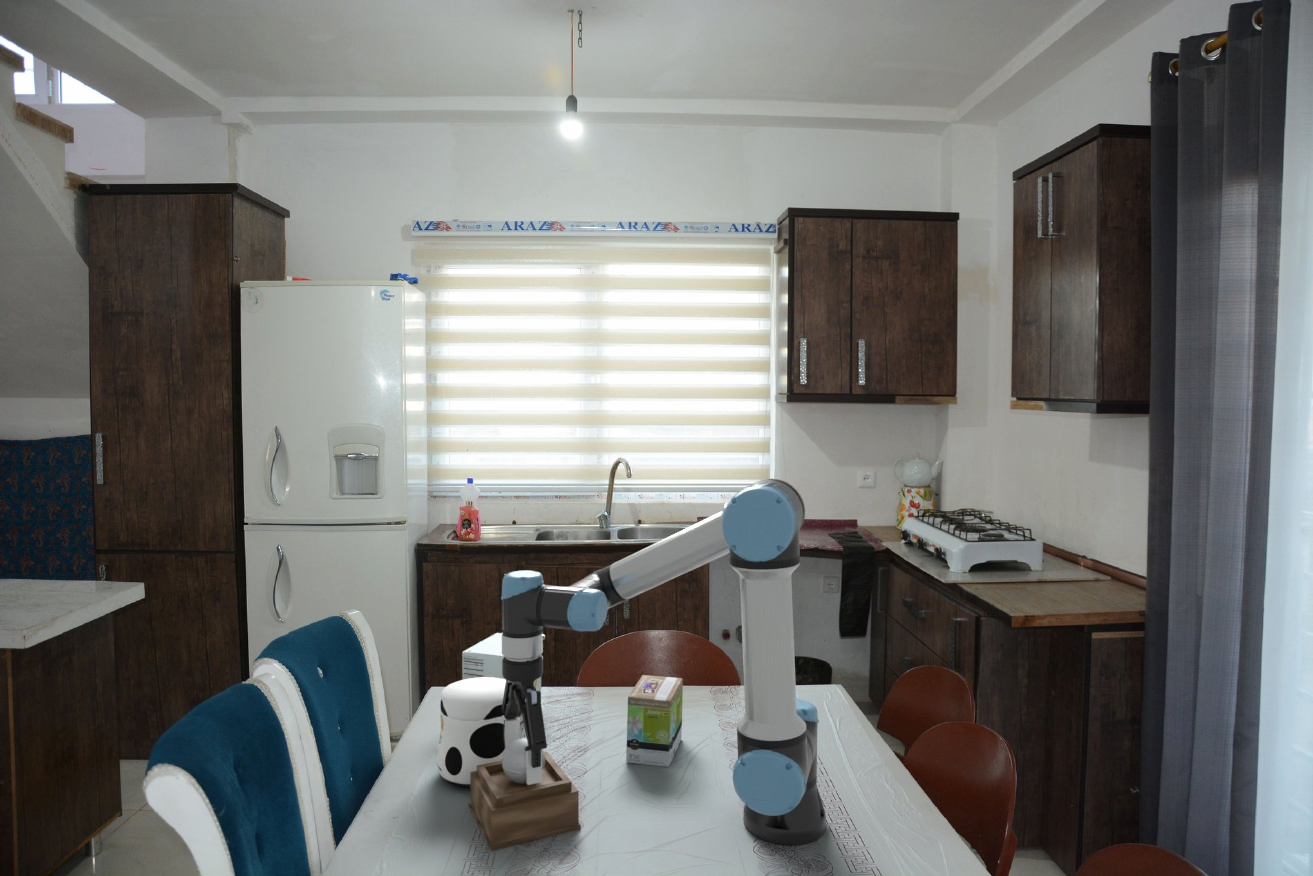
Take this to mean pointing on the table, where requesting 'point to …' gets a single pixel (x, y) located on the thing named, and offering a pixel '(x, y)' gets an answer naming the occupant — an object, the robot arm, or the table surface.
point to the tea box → (654, 720)
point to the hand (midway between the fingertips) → (523, 767)
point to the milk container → (470, 727)
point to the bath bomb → (517, 761)
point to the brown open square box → (522, 805)
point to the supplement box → (487, 661)
